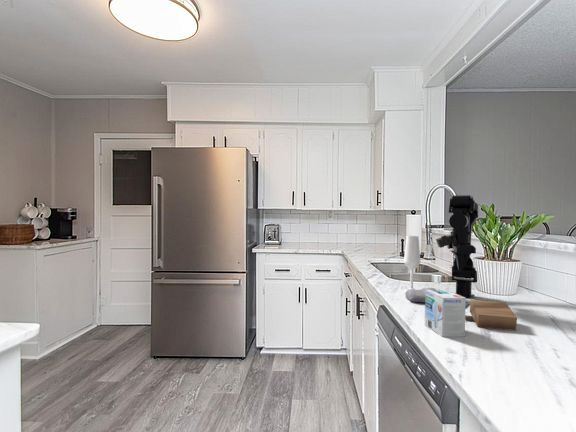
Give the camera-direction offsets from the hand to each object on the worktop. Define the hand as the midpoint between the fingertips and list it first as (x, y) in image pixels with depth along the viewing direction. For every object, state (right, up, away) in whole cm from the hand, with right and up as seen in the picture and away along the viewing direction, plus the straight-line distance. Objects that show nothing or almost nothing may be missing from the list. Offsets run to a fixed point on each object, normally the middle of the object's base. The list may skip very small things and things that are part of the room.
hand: (460, 270), depth 132 cm
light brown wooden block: (-1, -9, -20) cm, 22 cm away
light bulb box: (-20, -13, -32) cm, 39 cm away
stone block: (-13, -12, +2) cm, 18 cm away
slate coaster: (-3, -13, -1) cm, 13 cm away
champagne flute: (-12, -12, +18) cm, 25 cm away
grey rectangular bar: (-2, -13, -23) cm, 26 cm away
